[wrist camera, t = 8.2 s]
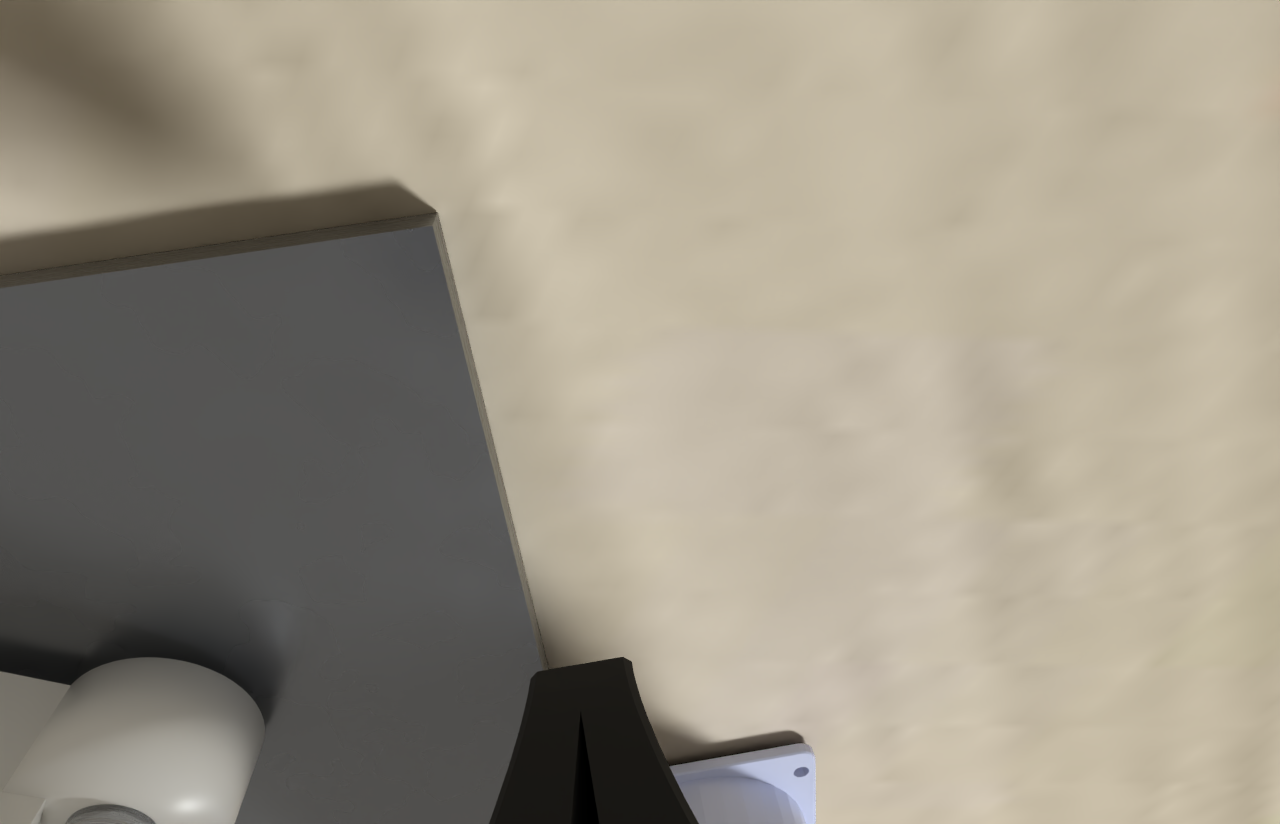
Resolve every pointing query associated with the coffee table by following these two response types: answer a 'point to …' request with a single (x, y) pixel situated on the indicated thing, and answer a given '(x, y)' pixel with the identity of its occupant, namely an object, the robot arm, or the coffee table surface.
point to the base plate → (274, 508)
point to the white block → (127, 746)
